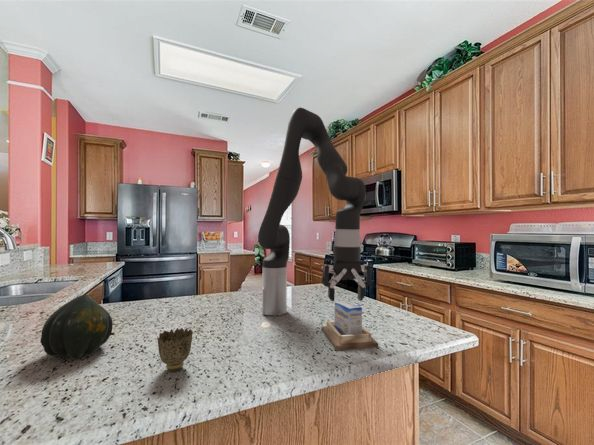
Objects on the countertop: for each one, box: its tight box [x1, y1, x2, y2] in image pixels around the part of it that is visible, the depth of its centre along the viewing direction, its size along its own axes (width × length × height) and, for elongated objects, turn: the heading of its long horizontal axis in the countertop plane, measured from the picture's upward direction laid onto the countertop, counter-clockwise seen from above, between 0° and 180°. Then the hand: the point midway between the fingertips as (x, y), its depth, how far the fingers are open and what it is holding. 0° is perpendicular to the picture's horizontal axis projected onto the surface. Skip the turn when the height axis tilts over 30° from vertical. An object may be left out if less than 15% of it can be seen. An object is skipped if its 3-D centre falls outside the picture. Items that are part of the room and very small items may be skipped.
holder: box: [320, 320, 379, 351], centre depth 83 cm, size 12×15×3 cm
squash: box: [40, 294, 114, 360], centre depth 73 cm, size 14×15×15 cm
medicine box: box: [334, 300, 363, 335], centre depth 83 cm, size 8×4×9 cm, turn 25°
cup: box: [156, 327, 194, 372], centre depth 65 cm, size 8×7×8 cm
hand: (346, 300), depth 83 cm, fingers open, 8 cm apart
